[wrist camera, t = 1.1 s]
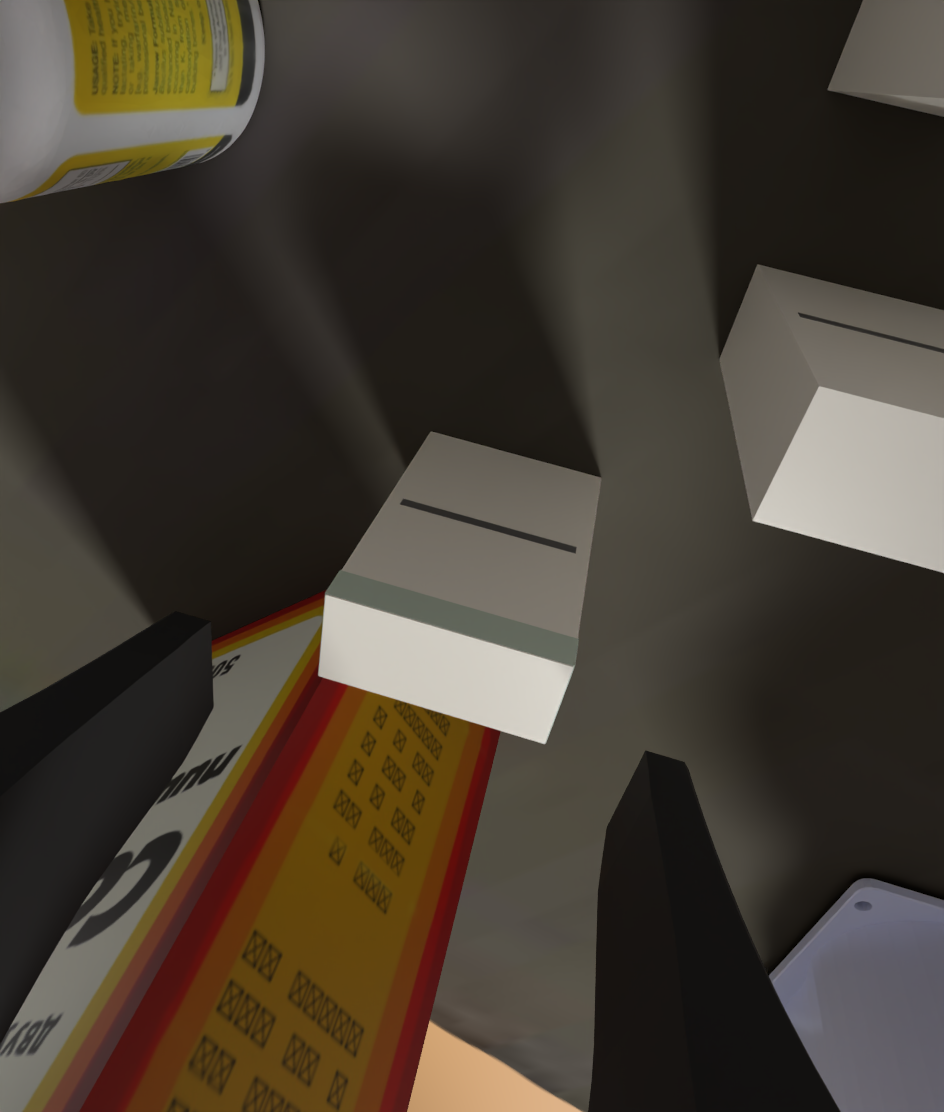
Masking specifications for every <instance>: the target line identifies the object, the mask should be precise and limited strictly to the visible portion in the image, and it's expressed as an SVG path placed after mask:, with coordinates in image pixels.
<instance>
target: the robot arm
mask: <svg viewBox="0 0 944 1112" xmlns="http://www.w3.org/2000/svg"><path fill="white" fill-rule="evenodd" d="M213 708H214V699H213V670H212V640H211V622H210V621H207V620H204V619H200V618H197V617H194V616H190V615H187V614H183V613H180V612H177V611H176V612H174V613H172V614H170V615H168V616H167V617H165V618H163V619H162V620H160V621H158V622H156V623H155V624H153V625H151V626H150V627H148V628H146V629H145V630H143V631H141V632H140V633H138V634H137V635H135V636H133V637H132V638H130V639H128V640H127V641H125V642H123V643H122V644H120V645H118V646H117V647H115V648H113V649H112V650H110V651H108V652H107V653H105V654H103V655H102V656H100V657H98V658H97V659H95V660H93V661H92V662H90V663H88V664H87V665H85V666H83V667H81V668H80V669H78V670H76V671H75V672H73V673H71V674H69V675H68V676H66V677H64V678H62V679H61V680H59V681H57V682H55V683H54V684H52V685H50V686H49V687H47V688H45V689H43V690H41V691H40V692H38V693H36V694H34V695H32V696H30V697H29V698H27V699H25V700H23V701H21V702H19V703H17V704H15V705H13V706H12V707H10V708H8V709H6V710H4V711H2V712H0V1044H1V1042H2V1041H3V1039H4V1037H5V1035H6V1033H7V1031H8V1030H9V1028H10V1026H11V1024H12V1023H13V1021H14V1019H15V1017H16V1016H17V1014H18V1012H19V1010H20V1009H21V1007H22V1005H23V1003H24V1002H25V1000H26V998H27V996H28V995H29V993H30V991H31V989H32V988H33V986H34V984H35V982H36V980H37V979H38V977H39V975H40V973H41V972H42V970H43V968H44V967H45V965H46V963H47V962H48V960H49V958H50V956H51V955H52V953H53V951H54V950H55V948H56V946H57V945H58V943H59V941H60V940H61V938H62V936H63V935H64V933H65V931H66V930H67V928H68V926H69V925H70V923H71V921H72V920H73V918H74V916H75V915H76V913H77V911H78V910H79V908H80V906H81V905H82V904H83V902H84V901H85V899H86V898H87V896H88V895H89V893H90V892H91V890H92V889H93V887H94V886H95V884H96V883H97V881H98V880H99V878H100V877H101V876H102V874H103V873H104V872H105V870H106V869H107V867H108V866H109V865H110V863H111V862H112V861H113V859H114V858H115V856H116V855H117V854H118V852H119V851H120V850H121V848H122V847H123V845H124V844H125V843H126V841H127V840H128V839H129V837H130V836H131V834H132V833H133V832H134V830H135V829H136V828H137V826H138V825H139V823H140V822H141V821H142V819H143V818H144V817H145V815H146V814H147V812H148V811H149V810H150V808H151V807H152V806H153V804H154V803H155V801H156V800H157V799H158V797H159V796H160V794H161V793H162V792H163V790H164V789H165V787H166V786H167V785H168V783H169V782H170V781H171V779H172V778H173V776H174V775H175V773H176V772H177V771H178V769H179V768H180V766H181V765H182V764H183V762H184V760H185V759H186V757H187V755H188V753H189V752H190V750H191V748H192V746H193V745H194V743H195V741H196V739H197V738H198V736H199V734H200V732H201V730H202V728H203V726H204V725H205V723H206V721H207V719H208V717H209V715H210V713H211V712H212V710H213ZM588 1112H944V900H942V899H938V898H935V897H932V896H928V895H925V894H922V893H919V892H915V891H912V890H909V889H905V888H902V887H899V886H896V885H892V884H889V883H886V882H882V881H879V880H876V879H871V878H863V879H860V880H857V881H856V882H854V883H853V884H852V885H851V886H850V887H849V888H848V890H847V891H846V892H845V893H844V894H843V895H842V896H841V897H840V898H839V899H838V901H837V902H836V903H835V904H834V905H833V906H832V907H831V908H830V909H829V910H828V911H827V913H826V914H825V915H824V916H823V917H822V918H821V919H820V920H819V921H818V922H817V923H816V925H815V926H814V927H813V928H812V929H811V930H810V931H809V932H808V933H807V934H806V936H805V937H804V938H803V939H802V940H801V941H800V942H799V943H798V944H797V945H796V946H795V948H794V949H793V950H792V951H791V952H790V953H789V954H788V955H787V956H786V957H785V959H784V960H783V961H782V962H781V963H780V964H779V965H778V966H777V967H776V968H775V969H774V971H773V972H772V973H771V974H770V975H769V976H768V973H767V971H766V969H765V967H764V965H763V963H762V960H761V958H760V956H759V954H758V952H757V950H756V947H755V945H754V943H753V941H752V939H751V936H750V934H749V932H748V929H747V927H746V925H745V922H744V920H743V918H742V915H741V913H740V910H739V908H738V905H737V903H736V901H735V898H734V896H733V893H732V891H731V888H730V886H729V883H728V881H727V878H726V876H725V873H724V871H723V868H722V866H721V863H720V860H719V858H718V855H717V852H716V850H715V847H714V844H713V841H712V838H711V836H710V833H709V830H708V827H707V825H706V822H705V819H704V816H703V813H702V810H701V807H700V804H699V801H698V798H697V795H696V792H695V789H694V785H693V782H692V779H691V776H690V773H689V770H688V768H687V766H686V764H685V762H682V761H679V760H676V759H672V758H669V757H666V756H662V755H659V754H655V753H652V752H649V751H645V753H644V755H643V757H642V759H641V761H640V763H639V765H638V767H637V769H636V771H635V773H634V775H633V777H632V779H631V781H630V783H629V785H628V786H627V788H626V790H625V792H624V794H623V796H622V798H621V800H620V802H619V804H618V806H617V808H616V810H615V812H614V814H613V816H612V818H611V820H610V822H609V824H608V826H607V830H606V837H605V844H604V851H603V858H602V865H601V873H600V880H599V888H598V908H597V944H596V987H595V1029H594V1054H593V1071H592V1083H591V1092H590V1101H589V1110H588Z"/></svg>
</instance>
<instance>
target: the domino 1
mask: <svg viewBox="0 0 944 1112" xmlns="http://www.w3.org/2000/svg"><path fill="white" fill-rule="evenodd" d="M827 90H829V91H833V92H837V93H842V94H846V95H851V96H855V97H859V98H864V99H868V100H872V101H877V102H881V103H885V104H890V105H894V106H898V107H903V108H907V109H912V110H916V111H920V112H925V113H929V114H933V115H938V116H942V117H944V0H863V2H862V4H861V7H860V9H859V12H858V14H857V17H856V19H855V22H854V24H853V27H852V29H851V32H850V34H849V37H848V39H847V42H846V44H845V47H844V49H843V52H842V54H841V57H840V59H839V62H838V64H837V67H836V69H835V72H834V74H833V77H832V79H831V82H830V84H829V87H828V89H827Z"/></svg>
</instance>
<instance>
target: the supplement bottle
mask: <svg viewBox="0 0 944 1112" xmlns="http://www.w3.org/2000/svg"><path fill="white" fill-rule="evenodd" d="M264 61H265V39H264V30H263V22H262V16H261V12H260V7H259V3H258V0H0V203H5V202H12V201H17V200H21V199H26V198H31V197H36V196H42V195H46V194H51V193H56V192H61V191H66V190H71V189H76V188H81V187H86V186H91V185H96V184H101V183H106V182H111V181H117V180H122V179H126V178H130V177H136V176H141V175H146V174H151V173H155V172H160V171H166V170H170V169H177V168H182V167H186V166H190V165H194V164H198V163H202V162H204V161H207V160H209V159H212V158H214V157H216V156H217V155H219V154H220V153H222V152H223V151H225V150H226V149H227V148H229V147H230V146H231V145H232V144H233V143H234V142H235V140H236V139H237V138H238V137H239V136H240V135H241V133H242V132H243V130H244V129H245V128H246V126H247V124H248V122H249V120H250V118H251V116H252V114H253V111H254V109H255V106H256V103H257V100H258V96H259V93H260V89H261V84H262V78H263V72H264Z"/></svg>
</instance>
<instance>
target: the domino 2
mask: <svg viewBox="0 0 944 1112" xmlns="http://www.w3.org/2000/svg"><path fill="white" fill-rule="evenodd" d="M719 360H720V364H721V369H722V374H723V379H724V384H725V389H726V394H727V399H728V403H729V408H730V413H731V418H732V423H733V428H734V433H735V438H736V443H737V447H738V452H739V457H740V462H741V467H742V472H743V477H744V482H745V487H746V491H747V496H748V501H749V506H750V511H751V516H752V521H756V522H759V523H763V524H767V525H770V526H774V527H778V528H781V529H785V530H789V531H792V532H796V533H800V534H803V535H807V536H811V537H814V538H818V539H822V540H825V541H829V542H833V543H836V544H840V545H844V546H847V547H851V548H855V549H858V550H862V551H866V552H869V553H873V554H877V555H880V556H884V557H887V558H891V559H895V560H898V561H902V562H906V563H909V564H913V565H917V566H920V567H924V568H928V569H931V570H935V571H939V572H942V573H944V310H940V309H936V308H932V307H928V306H924V305H920V304H916V303H912V302H908V301H904V300H900V299H896V298H892V297H888V296H884V295H880V294H876V293H872V292H868V291H863V290H859V289H855V288H851V287H847V286H843V285H839V284H835V283H831V282H827V281H823V280H819V279H815V278H811V277H807V276H803V275H799V274H795V273H791V272H787V271H783V270H779V269H775V268H771V267H767V266H763V265H759V264H757V266H756V269H755V271H754V274H753V276H752V279H751V281H750V284H749V286H748V289H747V291H746V294H745V296H744V299H743V301H742V304H741V306H740V309H739V311H738V314H737V316H736V319H735V321H734V324H733V326H732V329H731V331H730V334H729V336H728V339H727V341H726V344H725V346H724V349H723V351H722V354H721V356H720V359H719Z"/></svg>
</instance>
